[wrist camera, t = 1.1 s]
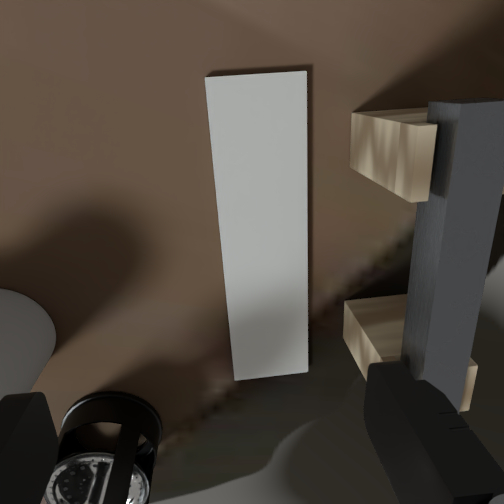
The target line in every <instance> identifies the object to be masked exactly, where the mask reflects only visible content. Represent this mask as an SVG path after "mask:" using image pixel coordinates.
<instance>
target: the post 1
mask: <svg viewBox="0 0 504 504" xmlns="http://www.w3.org/2000/svg"><path fill="white" fill-rule="evenodd" d="M427 112H428V107H423V108H409V109H396V110H382V111H368V112H354V113H352V119H351V145H350V168H352V169H354V170H356V171H357V172H359V173H361V174H362V175H364V176H366V177H368V178H369V179H371V180H373V181H374V182H376V183H378V184H380V185H381V186H383V187H385V188H386V189H388V190H390V191H392V192H393V193H395V194H397V195H398V196H400V197H402V198H403V199H405V200H407V201H409V202H410V203H411V202H422V201H428V197H429V188H430V180H431V172H432V164H433V155H434V147H435V139H436V131H437V125H436V124H430V123H426V121H427ZM502 194H504V187H503V192H502Z"/></svg>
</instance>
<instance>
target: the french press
mask: <svg viewBox="0 0 504 504" xmlns="http://www.w3.org/2000/svg"><path fill="white" fill-rule="evenodd" d="M99 422H110V423H117V424H122V426H121V430H120V434H119V438H118V442H117V446H116V450H115V451H112V450H100V449H94V450H87V449H86V448H85V447H83V446H82V444H81V443H80V442H79V440H78V439H77V436H76V428H78V427H80V426H83V425H87V424H90V423H99ZM140 433H141V434H142V435H143V436H145V437H146V439H147V441H146V442H145V444H144V445H143V446H142V447H141V448H140V449H138V450H137V446H138V441H139V435H140ZM161 437H162V422H161V419H160V417H159V414H158V413H157V412H156V410H155V409H154V408H153V407H152V406H151V405H150V404H149V403H148V402H146V401H145V400H143V399H141V398H139V397H137V396H134V395H132V394H128V393H123V392H113V391H109V392H99V393H95V394H91V395H89V396H86V397H84V398H82V399H80V400H79V401H77V402H76V403H74V404H73V405H72V407H71V408H70V409H69V410H68V411H67V413H66V414H65V416H64V418H63V421H62V425H61V432H60V434H59V437H58V443H59V451H58V458H57V463H56V466H55V469H54V471H53V473H52V476H51V478H50V481H49V483H48V486H47V488H46V491H45V493H44V498H45V500H46V502H47V503H48V504H148V503H149V496H150V489H151V482H152V474H153V469H154V466H155V464H156V457H157V450H158V445H159V443H160V440H161Z"/></svg>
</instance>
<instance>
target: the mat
mask: <svg viewBox="0 0 504 504" xmlns="http://www.w3.org/2000/svg"><path fill="white" fill-rule="evenodd" d="M205 86H206V96H207V106H208V116H209V126H210V136H211V146H212V157H213V167H214V177H215V187H216V197H217V207H218V217H219V228H220V238H221V248H222V258H223V268H224V278H225V288H226V299H227V309H228V319H229V329H230V339H231V349H232V360H233V370H234V380H235V381H237V380H245V379H253V378H261V377H270V376H278V375H286V374H294V373H303V372H308V232H307V71H296V72H280V73H265V74H249V75H234V76H218V77H205Z"/></svg>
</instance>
